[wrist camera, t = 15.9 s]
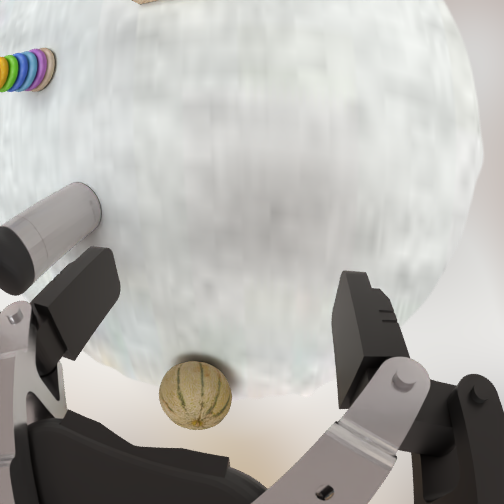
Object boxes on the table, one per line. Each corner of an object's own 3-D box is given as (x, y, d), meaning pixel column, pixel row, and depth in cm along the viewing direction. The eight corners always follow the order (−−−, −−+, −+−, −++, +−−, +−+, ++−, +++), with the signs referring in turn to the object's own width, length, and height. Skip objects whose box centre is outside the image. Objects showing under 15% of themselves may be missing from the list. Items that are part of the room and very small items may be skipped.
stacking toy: (25, 89, 33) (-56, 108, 17) (34, 48, 29) (-48, 55, 13) (51, 92, 34) (-38, 111, 18) (61, 48, 30) (-29, 51, 14)
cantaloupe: (160, 364, 61) (137, 416, 48) (192, 336, 54) (169, 398, 42) (212, 395, 64) (198, 447, 51) (251, 372, 58) (240, 434, 45)
